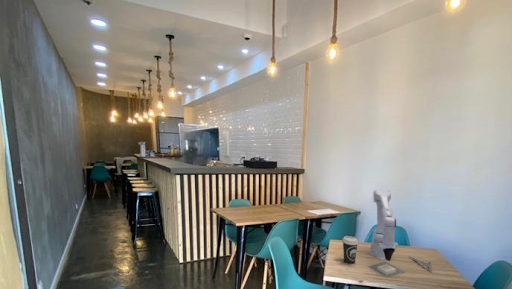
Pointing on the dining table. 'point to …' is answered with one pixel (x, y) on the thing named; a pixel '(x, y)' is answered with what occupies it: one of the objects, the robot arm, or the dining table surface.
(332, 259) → the dining table surface
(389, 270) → the tile
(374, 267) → the mat
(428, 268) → the caliper
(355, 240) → the coffee cup
